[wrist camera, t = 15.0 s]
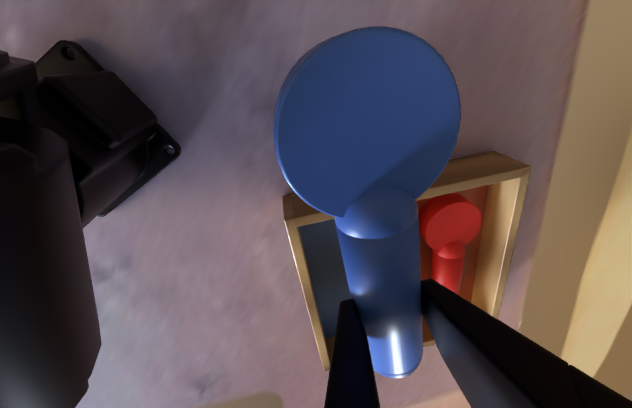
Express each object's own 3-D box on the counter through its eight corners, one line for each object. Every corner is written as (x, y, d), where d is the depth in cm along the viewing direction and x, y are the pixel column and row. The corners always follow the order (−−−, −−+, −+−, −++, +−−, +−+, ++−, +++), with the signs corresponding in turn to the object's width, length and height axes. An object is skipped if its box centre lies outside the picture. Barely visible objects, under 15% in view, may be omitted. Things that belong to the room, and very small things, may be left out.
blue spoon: (431, 323, 11) (461, 375, 9) (335, 348, 11) (347, 405, 9) (427, 13, 6) (493, -6, 4) (252, 55, 6) (242, 55, 4)
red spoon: (458, 295, 23) (474, 315, 21) (414, 305, 23) (426, 326, 21) (471, 186, 18) (492, 200, 16) (415, 199, 18) (431, 214, 16)
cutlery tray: (471, 300, 25) (495, 329, 22) (318, 337, 24) (324, 371, 21) (494, 150, 18) (532, 166, 15) (282, 195, 17) (284, 220, 15)
